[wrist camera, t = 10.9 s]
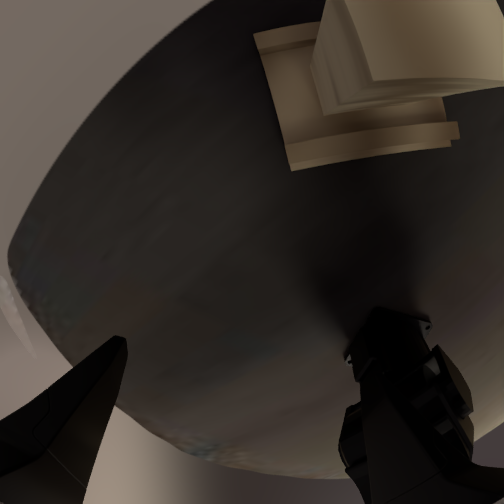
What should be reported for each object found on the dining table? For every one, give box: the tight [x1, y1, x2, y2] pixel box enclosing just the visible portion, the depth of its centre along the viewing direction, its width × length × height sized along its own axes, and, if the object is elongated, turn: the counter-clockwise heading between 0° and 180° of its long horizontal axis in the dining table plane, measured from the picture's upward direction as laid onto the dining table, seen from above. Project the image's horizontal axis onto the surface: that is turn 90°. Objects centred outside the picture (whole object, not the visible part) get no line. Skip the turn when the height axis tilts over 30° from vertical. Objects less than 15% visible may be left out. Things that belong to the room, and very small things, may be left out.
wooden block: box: [310, 0, 504, 116], centre depth 10 cm, size 6×4×12 cm, turn 104°
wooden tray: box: [253, 21, 460, 171], centre depth 16 cm, size 12×10×2 cm
